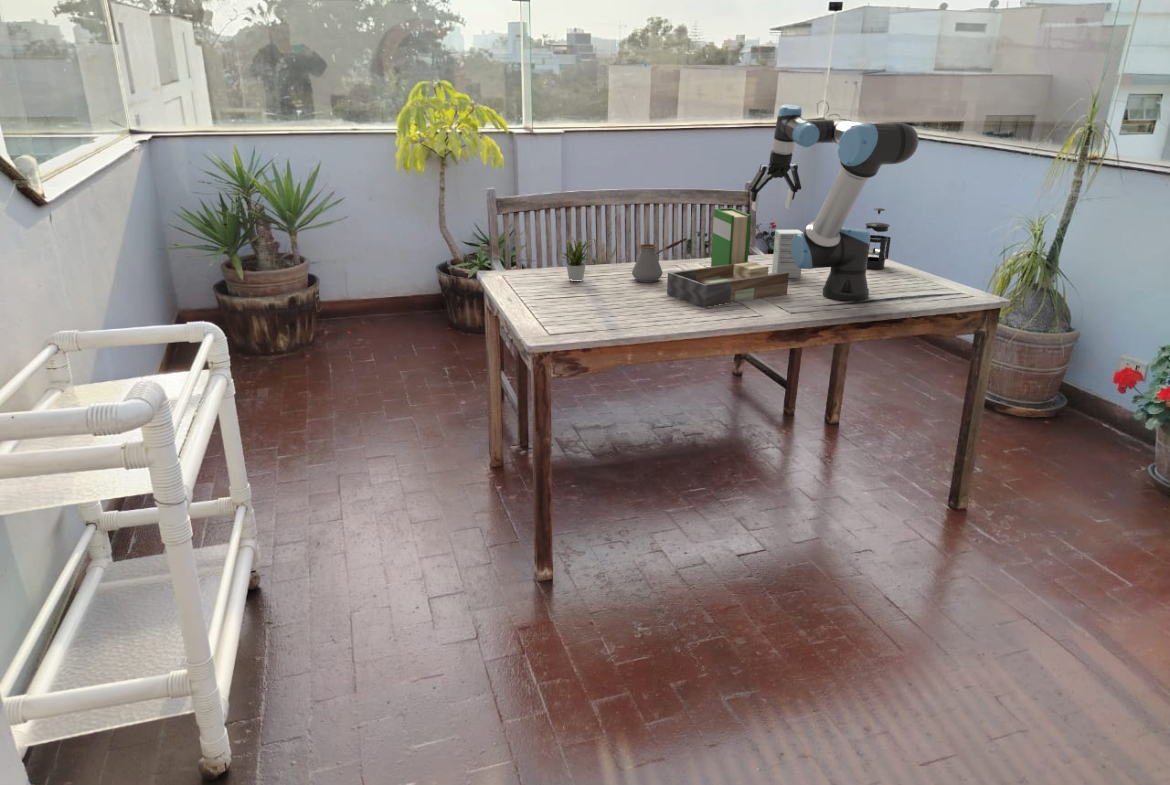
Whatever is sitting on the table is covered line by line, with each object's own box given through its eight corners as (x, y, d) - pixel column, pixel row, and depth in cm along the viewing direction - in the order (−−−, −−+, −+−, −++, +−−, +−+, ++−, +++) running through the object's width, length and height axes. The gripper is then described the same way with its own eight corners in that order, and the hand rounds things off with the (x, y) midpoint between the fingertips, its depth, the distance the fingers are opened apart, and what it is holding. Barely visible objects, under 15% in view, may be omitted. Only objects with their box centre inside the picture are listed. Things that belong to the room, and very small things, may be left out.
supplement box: (801, 278, 300) (805, 233, 294) (776, 278, 300) (780, 233, 294) (795, 272, 309) (799, 229, 302) (771, 272, 309) (774, 229, 303)
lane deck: (786, 294, 278) (788, 272, 275) (703, 307, 262) (704, 285, 259) (747, 281, 295) (749, 261, 292) (667, 293, 279) (667, 272, 276)
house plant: (605, 278, 300) (605, 235, 295) (588, 286, 289) (588, 241, 283) (571, 274, 307) (571, 232, 301) (553, 282, 295) (553, 238, 289)
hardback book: (746, 280, 297) (751, 215, 289) (727, 281, 296) (731, 215, 287) (728, 270, 313) (732, 208, 305) (710, 271, 312) (714, 208, 303)
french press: (868, 270, 311) (875, 211, 303) (853, 265, 320) (860, 207, 311) (893, 268, 315) (901, 209, 306) (877, 263, 323) (885, 206, 315)
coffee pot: (636, 284, 292) (637, 243, 287) (627, 277, 302) (628, 237, 297) (691, 281, 296) (693, 240, 291) (681, 274, 307) (683, 235, 301)
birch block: (767, 280, 280) (768, 266, 278) (749, 283, 276) (750, 269, 274) (750, 275, 287) (751, 261, 285) (733, 278, 283) (733, 264, 282)
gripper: (808, 146, 287) (796, 203, 299) (745, 148, 280) (735, 206, 292) (818, 153, 281) (805, 210, 293) (754, 155, 274) (744, 214, 286)
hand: (770, 208), depth 293 cm, fingers open, 13 cm apart
